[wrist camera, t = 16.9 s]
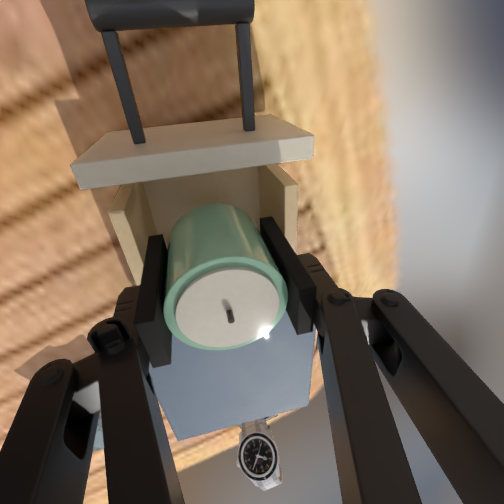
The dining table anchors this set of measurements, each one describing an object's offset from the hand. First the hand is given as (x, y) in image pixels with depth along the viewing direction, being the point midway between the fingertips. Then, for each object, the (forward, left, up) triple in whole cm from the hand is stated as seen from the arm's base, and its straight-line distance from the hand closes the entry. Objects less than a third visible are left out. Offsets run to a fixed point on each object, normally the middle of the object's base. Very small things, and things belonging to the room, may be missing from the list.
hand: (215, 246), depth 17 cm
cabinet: (+12, -2, -8) cm, 14 cm away
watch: (+32, -4, -8) cm, 33 cm away
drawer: (-2, 0, -7) cm, 8 cm away
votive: (0, 0, 0) cm, 0 cm away
